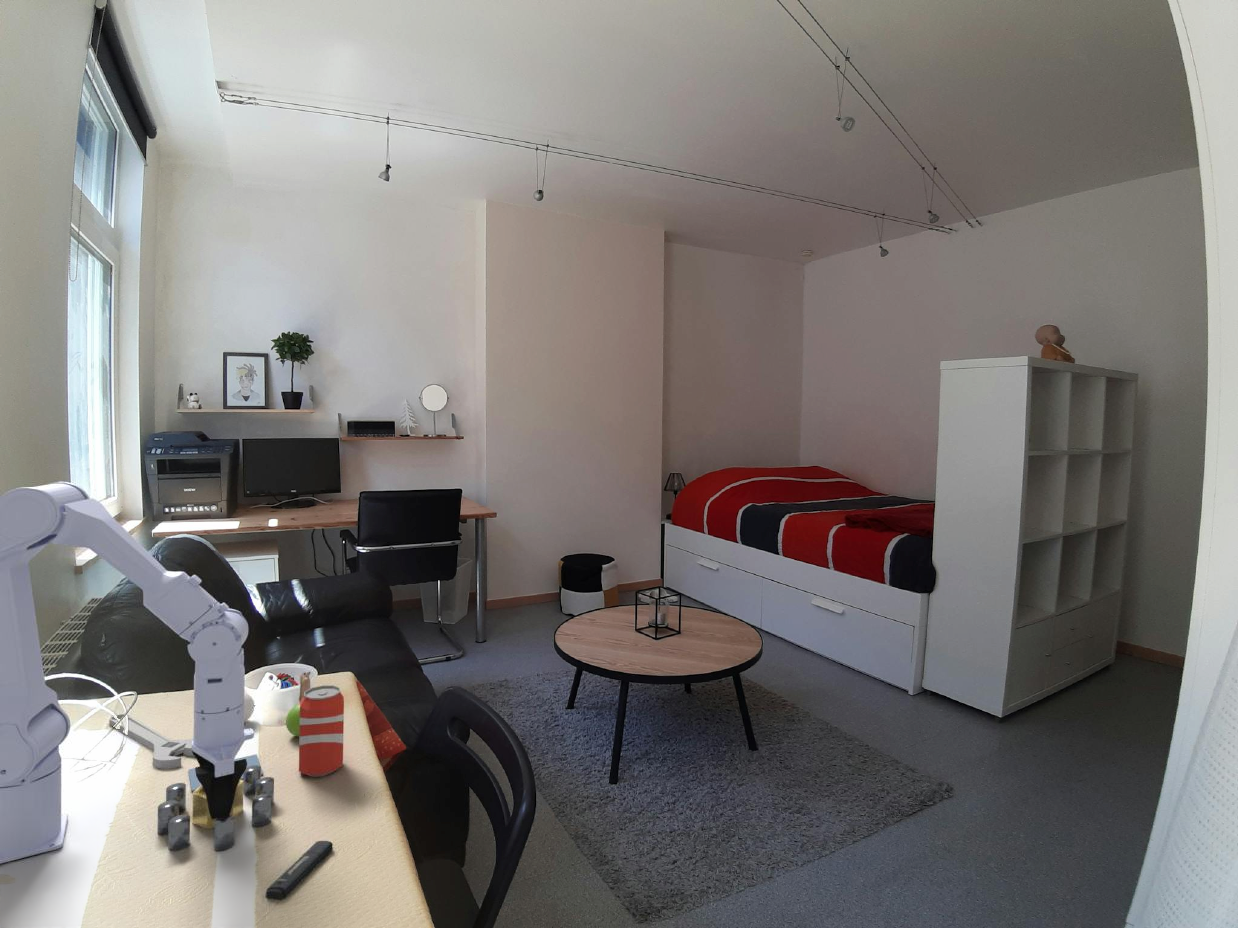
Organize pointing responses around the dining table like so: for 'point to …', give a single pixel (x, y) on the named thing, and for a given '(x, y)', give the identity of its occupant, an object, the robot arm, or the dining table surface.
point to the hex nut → (202, 811)
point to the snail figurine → (298, 706)
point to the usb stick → (299, 870)
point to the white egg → (248, 706)
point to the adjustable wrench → (157, 743)
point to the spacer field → (223, 825)
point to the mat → (250, 760)
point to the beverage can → (321, 730)
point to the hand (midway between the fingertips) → (218, 805)
